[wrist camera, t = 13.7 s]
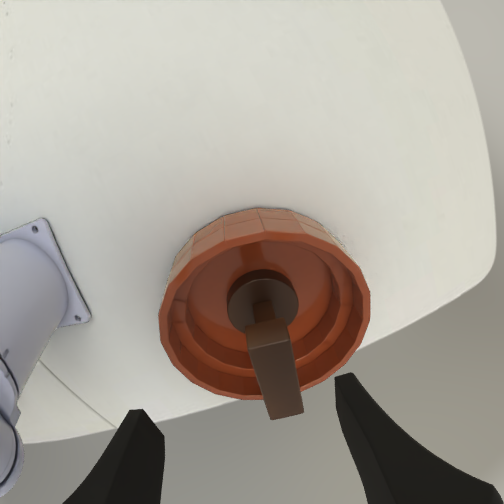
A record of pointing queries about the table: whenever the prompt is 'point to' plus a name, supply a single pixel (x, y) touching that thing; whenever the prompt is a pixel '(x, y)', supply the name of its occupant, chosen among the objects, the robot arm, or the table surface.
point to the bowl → (249, 259)
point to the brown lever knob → (268, 336)
